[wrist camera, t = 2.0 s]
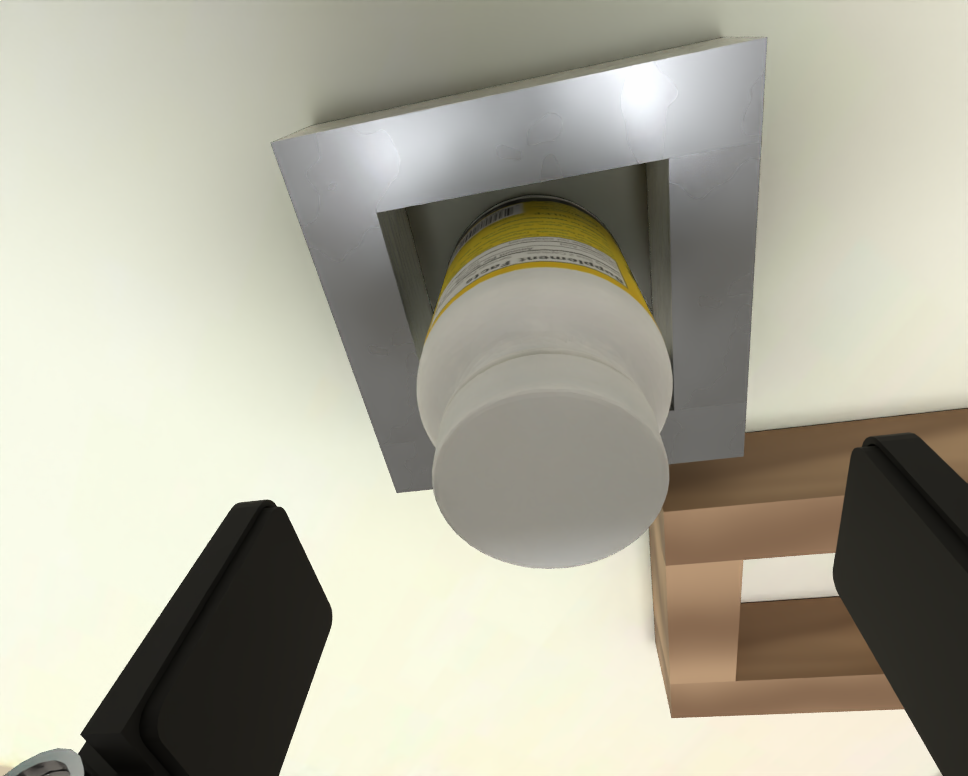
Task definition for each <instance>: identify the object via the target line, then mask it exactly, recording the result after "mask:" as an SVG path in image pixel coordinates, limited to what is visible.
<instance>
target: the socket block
mask: <svg viewBox="0 0 968 776" xmlns="http://www.w3.org/2000/svg"><path fill="white" fill-rule="evenodd" d="M766 51H767V37H722V38H717V39H712V40H708V41H703V42H698V43H694V44H689V45H684V46H680V47H675V48H670V49H666V50H661V51H656V52H652V53H647V54H643V55H638V56H633V57H629V58H624V59H619V60H615V61H610V62H605V63H601V64H596V65H591V66H587V67H582V68H577V69H573V70H568V71H563V72H559V73H554V74H549V75H545V76H540V77H535V78H531V79H526V80H521V81H517V82H512V83H507V84H503V85H498V86H493V87H489V88H484V89H479V90H475V91H470V92H465V93H461V94H456V95H452V96H447V97H442V98H438V99H433V100H428V101H424V102H419V103H414V104H410V105H405V106H400V107H396V108H391V109H386V110H382V111H377V112H372V113H368V114H363V115H358V116H354V117H349V118H344V119H340V120H335V121H330V122H326V123H321V124H316V125H312V126H309V127H307V128H304V129H302V130H300V131H297V132H295V133H292V134H290V135H288V136H285V137H283V138H280V139H278V140H275V141H273V142H271V145H272V148H273V151H274V154H275V156H276V159H277V162H278V165H279V168H280V170H281V173H282V176H283V179H284V181H285V184H286V187H287V190H288V193H289V195H290V198H291V201H292V204H293V206H294V209H295V212H296V215H297V218H298V220H299V223H300V226H301V229H302V231H303V234H304V237H305V240H306V242H307V245H308V248H309V251H310V254H311V256H312V259H313V262H314V265H315V267H316V270H317V273H318V276H319V279H320V281H321V284H322V287H323V290H324V292H325V295H326V298H327V301H328V304H329V306H330V309H331V312H332V315H333V317H334V320H335V323H336V326H337V328H338V331H339V334H340V337H341V340H342V342H343V345H344V348H345V351H346V353H347V356H348V359H349V362H350V365H351V367H352V370H353V373H354V376H355V378H356V381H357V384H358V387H359V389H360V392H361V395H362V398H363V401H364V403H365V406H366V409H367V412H368V414H369V417H370V420H371V423H372V426H373V428H374V431H375V434H376V437H377V439H378V442H379V445H380V448H381V451H382V453H383V456H384V459H385V462H386V464H387V467H388V470H389V473H390V475H391V478H392V481H393V484H394V487H395V489H396V492H397V493H401V492H411V491H420V490H430V489H433V484H432V468H433V461H434V455H435V450H436V448H435V446H434V444H433V443H432V441H431V440H430V438H429V436H428V434H427V432H426V430H425V428H424V426H423V423H422V420H421V416H420V412H419V408H418V402H417V374H418V368H419V363H420V359H421V355H422V351H423V347H424V343H425V339H426V336H427V333H428V330H429V327H430V324H431V321H432V317H433V313H432V309H431V305H430V301H429V297H428V293H427V290H426V286H425V282H424V278H423V274H422V270H421V267H420V263H419V259H418V255H417V251H416V247H415V244H414V240H413V236H412V232H411V228H410V224H409V221H408V217H407V213H406V209H405V207H410V206H415V205H421V204H426V203H431V202H437V201H442V200H448V199H453V198H458V197H464V196H469V195H475V194H480V193H485V192H491V191H496V190H501V189H507V188H512V187H518V186H523V185H528V184H534V183H539V182H544V181H550V180H555V179H561V178H566V177H571V176H577V175H582V174H588V173H593V172H598V171H604V170H609V169H614V168H620V167H625V166H631V165H636V164H641V163H646V172H647V196H648V220H649V243H650V267H651V291H652V315H653V318H654V320H655V322H656V324H657V326H658V328H659V330H660V332H661V334H662V337H663V340H664V343H665V346H666V349H667V352H668V355H669V359H670V363H671V369H672V375H673V391H672V398H671V404H670V408H669V412H668V416H667V418H666V421H665V424H664V426H663V428H662V430H661V432H660V435H661V439H662V442H663V445H664V448H665V451H666V454H667V458H668V464H677V463H686V462H696V461H705V460H715V459H724V458H734V457H743V456H744V440H745V423H746V405H747V387H748V370H749V352H750V334H751V316H752V299H753V281H754V263H755V246H756V228H757V210H758V192H759V175H760V157H761V139H762V122H763V104H764V86H765V68H766Z"/></svg>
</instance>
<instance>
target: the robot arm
mask: <svg viewBox="0 0 968 776" xmlns="http://www.w3.org/2000/svg"><path fill="white" fill-rule="evenodd" d="M833 580H834V584H835V587H836V590H837V592H838V594H839V596H840V598H841V600H842V601H843V603H844V605H845V607H846V608H847V610H848V612H849V614H850V615H851V617H852V619H853V621H854V622H855V624H856V626H857V628H858V629H859V631H860V633H861V634H862V636H863V638H864V640H865V641H866V643H867V645H868V647H869V648H870V650H871V652H872V654H873V655H874V657H875V659H876V661H877V662H878V664H879V666H880V668H881V669H882V671H883V673H884V674H885V676H886V678H887V680H888V681H889V683H890V685H891V687H892V688H893V690H894V692H895V694H896V695H897V697H898V699H899V701H900V702H901V704H902V706H903V707H904V709H905V711H906V713H907V714H908V716H909V718H910V720H911V721H912V723H913V725H914V727H915V728H916V730H917V732H918V734H919V735H920V737H921V739H922V740H923V742H924V744H925V746H926V747H927V749H928V751H929V753H930V754H931V756H932V758H933V760H934V761H935V763H936V765H937V767H938V768H939V770H940V772H941V773H942V775H943V776H968V483H967V482H966V481H965V480H963V479H962V478H961V477H960V476H959V475H958V474H957V473H956V472H955V471H954V470H953V469H952V468H951V467H950V466H949V465H948V464H947V463H946V462H945V461H944V460H943V459H942V458H941V457H940V456H939V455H938V454H937V453H936V452H935V451H934V450H933V449H932V448H930V447H929V446H928V445H927V444H926V443H925V442H924V441H923V440H922V439H921V438H920V437H919V436H917V435H916V434H915V433H910V432H907V433H897V434H888V435H878V436H870V437H867V438H866V439H865V440H864V442H863V444H862V447H857V448H854V449H853V451H852V453H851V457H850V463H849V470H848V476H847V483H846V489H845V495H844V502H843V508H842V515H841V521H840V527H839V534H838V540H837V546H836V553H835V559H834V566H833ZM331 625H332V609H331V606H330V604H329V602H328V600H327V597H326V595H325V593H324V591H323V589H322V587H321V585H320V583H319V581H318V578H317V576H316V574H315V572H314V570H313V568H312V566H311V564H310V562H309V560H308V557H307V555H306V553H305V551H304V549H303V547H302V545H301V543H300V541H299V539H298V536H297V534H296V532H295V530H294V528H293V526H292V524H291V522H290V520H289V518H288V515H287V513H286V512H285V510H284V509H283V508H282V507H277V506H276V504H275V503H274V502H273V501H271V500H259V501H250V502H240V503H237V504H235V505H234V506H233V507H232V508H231V510H230V511H229V513H228V514H227V516H226V517H225V519H224V520H223V522H222V523H221V525H220V526H219V528H218V529H217V531H216V532H215V534H214V535H213V537H212V538H211V540H210V541H209V543H208V544H207V546H206V547H205V549H204V550H203V552H202V553H201V555H200V556H199V558H198V559H197V561H196V562H195V564H194V565H193V567H192V568H191V570H190V571H189V573H188V574H187V576H186V577H185V579H184V580H183V582H182V583H181V585H180V586H179V588H178V589H177V591H176V592H175V594H174V595H173V597H172V598H171V600H170V601H169V603H168V604H167V606H166V607H165V608H164V610H163V611H162V613H161V614H160V616H159V617H158V619H157V620H156V622H155V623H154V625H153V626H152V628H151V629H150V631H149V632H148V634H147V635H146V637H145V638H144V640H143V641H142V643H141V644H140V646H139V647H138V649H137V650H136V652H135V653H134V655H133V656H132V658H131V659H130V661H129V662H128V664H127V665H126V667H125V668H124V670H123V671H122V673H121V674H120V676H119V677H118V679H117V680H116V682H115V683H114V685H113V686H112V688H111V689H110V691H109V692H108V694H107V695H106V697H105V698H104V700H103V701H102V703H101V704H100V706H99V707H98V709H97V710H96V712H95V713H94V715H93V716H92V718H91V719H90V721H89V722H88V724H87V725H86V727H85V728H84V730H83V731H82V733H81V734H80V735H81V736H82V737H83V738H84V739H85V740H86V743H85V744H84V746H83V747H82V749H81V750H80V752H79V753H78V754H77V753H75V752H74V751H73V750H71V749H60V748H57V749H53V750H49V751H46V752H42V753H40V754H38V755H36V756H34V757H32V758H30V759H28V760H26V761H24V762H22V763H21V764H19V765H18V766H16V767H15V768H14V769H12V770H11V771H9V772H8V773H7V774H5V775H4V776H279V773H280V770H281V768H282V765H283V762H284V759H285V756H286V753H287V751H288V748H289V745H290V742H291V739H292V736H293V734H294V731H295V728H296V725H297V722H298V719H299V717H300V714H301V711H302V708H303V705H304V702H305V700H306V697H307V694H308V691H309V688H310V685H311V683H312V680H313V677H314V674H315V671H316V668H317V666H318V663H319V660H320V657H321V654H322V652H323V649H324V646H325V643H326V640H327V637H328V635H329V632H330V629H331Z"/></svg>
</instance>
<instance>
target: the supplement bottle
mask: <svg viewBox="0 0 968 776" xmlns="http://www.w3.org/2000/svg"><path fill="white" fill-rule="evenodd" d="M672 391H673V375H672V369H671V363H670V359H669V355H668V352H667V349H666V346H665V343H664V340H663V337H662V334H661V332H660V330H659V328H658V326H657V324H656V322H655V320H654V318H653V316H652V314H651V312H650V310H649V308H648V306H647V304H646V302H645V300H644V298H643V296H642V294H641V292H640V290H639V288H638V285H637V283H636V281H635V279H634V277H633V275H632V273H631V271H630V269H629V267H628V265H627V263H626V261H625V259H624V257H623V255H622V253H621V251H620V249H619V247H618V245H617V243H616V241H615V240H614V238H613V236H612V235H611V233H610V232H609V230H608V229H607V228H606V227H605V225H604V224H603V223H602V222H601V221H600V220H599V219H598V218H597V217H596V216H594V215H593V214H592V213H591V212H589V211H588V210H586V209H584V208H583V207H581V206H579V205H577V204H575V203H573V202H571V201H568V200H565V199H562V198H557V197H552V196H542V195H530V196H522V197H518V198H513V199H510V200H507V201H505V202H502V203H499V204H498V205H496V206H494V207H492V208H490V209H488V210H487V211H486V212H484V213H483V214H482V215H480V216H479V217H478V218H477V219H476V220H475V221H474V222H473V223H472V224H471V225H470V226H469V227H468V228H467V229H466V231H465V232H464V233H463V235H462V236H461V238H460V240H459V241H458V243H457V245H456V247H455V250H454V252H453V254H452V257H451V259H450V262H449V265H448V269H447V272H446V275H445V279H444V282H443V285H442V289H441V292H440V295H439V298H438V302H437V305H436V308H435V311H434V314H433V317H432V321H431V324H430V327H429V330H428V333H427V336H426V339H425V343H424V347H423V351H422V355H421V359H420V363H419V368H418V374H417V402H418V408H419V412H420V416H421V420H422V423H423V426H424V428H425V430H426V432H427V434H428V436H429V438H430V440H431V441H432V443H433V444H434V446H435V448H436V450H435V455H434V461H433V468H432V484H433V490H434V495H435V498H436V502H437V504H438V506H439V509H440V511H441V513H442V515H443V516H444V518H445V520H446V521H447V523H448V524H449V525H450V526H451V528H452V529H453V530H454V531H455V532H456V533H457V534H458V535H459V536H460V537H461V538H462V539H463V540H465V541H466V542H467V543H468V544H469V545H471V546H472V547H474V548H476V549H477V550H479V551H481V552H482V553H484V554H486V555H488V556H491V557H493V558H495V559H498V560H501V561H503V562H507V563H511V564H515V565H519V566H523V567H530V568H545V569H552V568H568V567H575V566H580V565H584V564H589V563H592V562H595V561H598V560H601V559H604V558H606V557H608V556H610V555H613V554H615V553H617V552H618V551H620V550H622V549H624V548H625V547H627V546H628V545H630V544H631V543H633V542H634V541H635V540H636V539H638V538H639V537H640V536H641V535H642V534H643V533H644V532H645V531H646V530H647V529H648V528H649V526H650V525H651V524H652V523H653V522H654V520H655V519H656V517H657V516H658V514H659V512H660V511H661V508H662V506H663V504H664V501H665V499H666V495H667V492H668V486H669V464H668V458H667V454H666V451H665V448H664V445H663V442H662V439H661V435H660V432H661V430H662V428H663V426H664V424H665V421H666V418H667V416H668V412H669V408H670V404H671V398H672Z"/></svg>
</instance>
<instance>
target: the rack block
mask: <svg viewBox="0 0 968 776" xmlns="http://www.w3.org/2000/svg"><path fill="white" fill-rule="evenodd" d="M907 432H910V433H915V434H916V435H917V436H919V437H920V438H921V439H922V440H923V441H924V442H925V443H926V444H927V445H928V446H929V447H930V448H932V449H933V450H934V451H935V452H936V453H937V454H938V455H939V456H940V457H941V458H942V459H943V460H944V461H945V462H946V463H947V464H948V465H949V466H950V467H951V468H952V469H953V470H954V471H955V472H956V473H957V474H958V475H959V476H960V477H961V478H962V479H963V480H965V481H966V482H967V483H968V408H966V409H957V410H948V411H939V412H930V413H921V414H912V415H903V416H894V417H885V418H876V419H867V420H859V421H850V422H841V423H832V424H823V425H814V426H805V427H796V428H787V429H778V430H769V431H760V432H751V433H745V440H744V456H743V457H734V458H724V459H715V460H705V461H696V462H686V463H677V464H669V486H668V492H667V495H666V499H665V501H664V504H663V506H662V508H661V511H660V512H659V514H658V516H657V517H656V519H655V520H654V522H653V523H652V524H651V525H650V526H649V539H650V557H651V574H652V591H653V608H654V625H655V643H656V648H657V652H658V657H659V662H660V666H661V671H662V676H663V680H664V685H665V690H666V694H667V699H668V704H669V708H670V713H671V718H686V717H712V716H738V715H764V714H790V713H816V712H843V711H869V710H895V709H904V707H903V706H902V704H901V702H900V701H899V699H898V697H897V695H896V694H895V692H894V690H893V688H892V687H891V685H890V683H889V681H888V680H887V678H886V676H885V674H884V673H883V671H882V669H881V668H880V666H879V664H878V662H877V661H876V659H875V657H874V655H873V654H872V652H871V650H870V648H869V647H868V645H867V643H866V641H865V640H864V638H863V636H862V634H861V633H860V631H859V629H858V628H857V626H856V624H855V622H854V621H853V619H852V617H851V615H850V614H849V612H848V610H847V608H846V607H845V605H844V603H843V601H842V600H841V598H840V597H830V598H815V599H800V600H786V601H771V602H756V603H741V587H742V571H743V560H747V559H760V558H772V557H785V556H798V555H810V554H823V553H836V546H837V540H838V534H839V527H840V521H841V515H842V508H843V502H844V495H845V489H846V483H847V476H848V470H849V463H850V457H851V453H852V451H853V449H854V448H857V447H862V444H863V442H864V440H865V439H866V438H867V437H870V436H878V435H888V434H897V433H907ZM740 603H741V604H740Z"/></svg>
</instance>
